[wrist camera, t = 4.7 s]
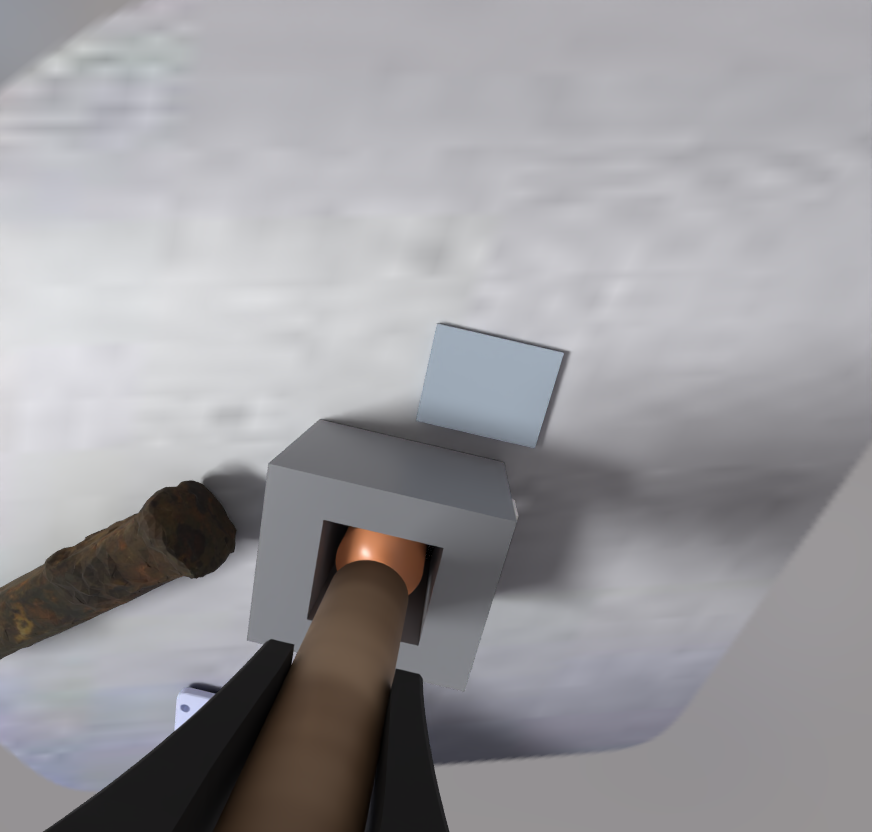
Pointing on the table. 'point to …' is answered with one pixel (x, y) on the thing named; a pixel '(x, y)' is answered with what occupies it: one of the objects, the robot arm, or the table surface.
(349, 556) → the orange rounded piece
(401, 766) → the robot arm
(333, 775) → the wooden rod
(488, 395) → the pad
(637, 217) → the table surface
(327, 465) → the gray hollow box
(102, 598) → the brown rough rod
